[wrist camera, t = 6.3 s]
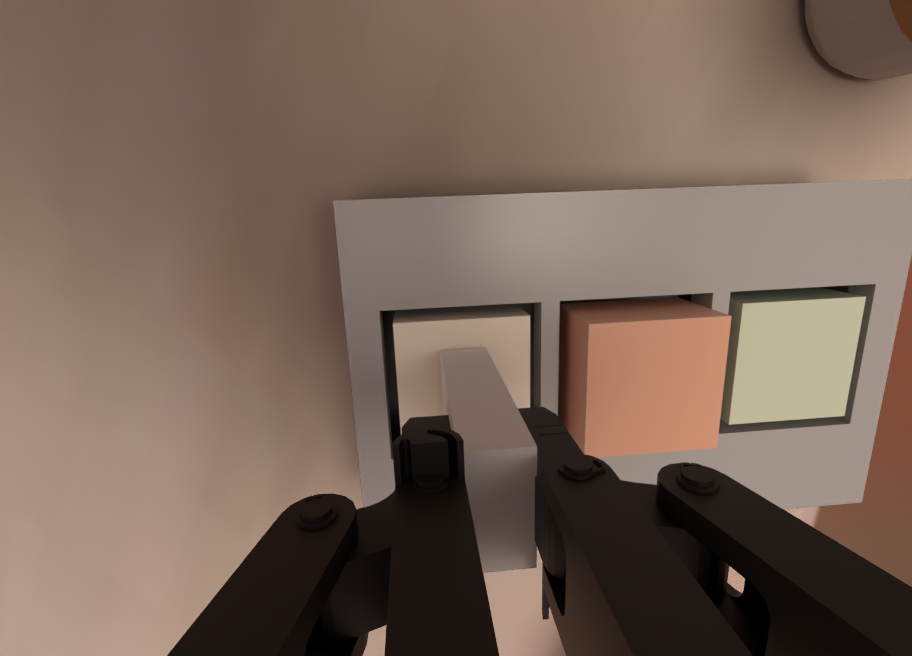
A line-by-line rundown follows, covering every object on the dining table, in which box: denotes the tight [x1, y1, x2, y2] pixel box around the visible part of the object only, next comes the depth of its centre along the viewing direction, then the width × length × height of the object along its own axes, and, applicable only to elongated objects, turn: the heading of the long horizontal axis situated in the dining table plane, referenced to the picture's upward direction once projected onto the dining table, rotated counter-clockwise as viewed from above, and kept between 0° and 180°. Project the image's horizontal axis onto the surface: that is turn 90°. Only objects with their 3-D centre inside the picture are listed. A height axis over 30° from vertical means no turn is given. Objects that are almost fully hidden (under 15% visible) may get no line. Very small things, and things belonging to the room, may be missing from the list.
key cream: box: [393, 303, 530, 434], centre depth 17 cm, size 4×4×3 cm
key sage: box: [691, 287, 866, 425], centre depth 18 cm, size 4×4×3 cm
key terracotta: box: [558, 297, 732, 458], centre depth 16 cm, size 4×4×3 cm
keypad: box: [333, 179, 912, 509], centre depth 18 cm, size 12×19×5 cm, turn 93°
